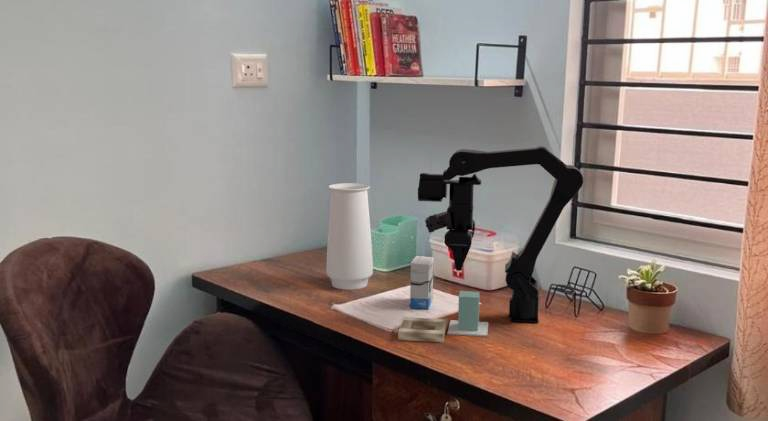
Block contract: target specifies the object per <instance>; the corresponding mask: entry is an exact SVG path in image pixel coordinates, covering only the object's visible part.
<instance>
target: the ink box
mask: <svg viewBox="0 0 768 421" xmlns="http://www.w3.org/2000/svg"><path fill="white" fill-rule="evenodd" d="M409 288H410V292H409V294H410V295H409V296H410V297H409V308H410V309H418V308H421V309H422V310H429V308H430V306H431V304H432V302H433V300H434V298H433V297H434V296H433V295H434V257H433V256H422V255H420V256H419V255H415V257H414V258H413V259H412V261H411V262H410V287H409Z"/></svg>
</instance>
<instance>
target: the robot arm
mask: <svg viewBox="0 0 768 421" xmlns="http://www.w3.org/2000/svg"><path fill="white" fill-rule="evenodd" d="M448 163H449V164H448V167H447V169H444V170H443V172H442V174H441V173H439V174H437V173H428V172H427V173H426V172H421V173H420V174H419V182H418V187H417V200H418V202H433V203H434V202H438V203H439V202H440V203H442V202H443V200H444V199H447V196H448V192H449V197H448V198H449V200H448V207H447V208H446V211H442V212H439V213H434V214H433V215H429V216H428V217H426V219H425V220H424V223H425V227H426V229H427V231H428V233H429V234H430V233H434V232H435V231H438V230H440V229H443V228H446V230H447V231H446V232H445V234H444V236H443V238H444V239H443V240H444V241H443V242H444V244H445V246H446V247H448V249H450V250H451V253H452V256H453V257H452V258H453V261H454V266H455V267H454V268H455V271H456V272H457V271H459V272H461V270H462V268H463V266H464V263H465V261H466V259H467V256H468V254H469V252H470V249H471V247H472V244H473V237H474V235H475V232H476V221H475V220H474V219H473V218H474V186H481V184H482V179H480V178H479V177H478V175H477V174H476V173H478V172H482V171H485V170H487V169H488V170H489V169H495V168H496V169H497V168H507V167H508V168H509V167H520V166H530V165H531V166H532V165H539V166H540V167H541V168H543V169H544V170H545V171H546V172H547V173H548V174H549V175H551V177H553V178H554V180H553V184H552V188H551V192H550V195H549V199H548V200H547V202H546V204H545V206H544V208H543V210H542V212H541V214H540V216H539V217H538V219H537V221H536V223H535V225H534V227H533V229H532V231H531V233H530V234H529V236H528V239H527V240H526V242H525V244H524V245H523V247H522V249H521V250H520V251H519V252H518V253H515V251H512V253H511V255H510V259H509V260H508V262H507V263H505V265H504V266H505V267H504V273H505V283H506V285H507V287H508V288H510V289H511V290H512V294H511V296H510V297H509V304H508V305H509V308H508V309H509V310H508V316H509V318H510V321H511V322H517V323H518V322H519V323H539V302H540V301H539V300H540V299H539V298H540V296H539V284H538V281H537V279H535V278H534V277H533V274H534V271H535V267H536V263H537V259H538V257H539V255H540V254H541V251H542V249H543V247H544V246H545V244H546V242H547V241H548V240H547V239H548V238H549V236H550V234H552V233H551V232H552V231H553V229H554V227H555V225H556V223H557V221H558V219H559V217H560V215H561V214H562V212H563V210H564V208H565V207H566V206H567V205H568V203H570V202H571V200H573V199H574V197H575V196H576V195H577V194H578V192H579V191H580V190H581V188H582V187H583V184H584V176H583V174H582V172H581V171H580V170H579V168H578V167H576V166H574V165H571V164H566V163H565V162H563V160H561V159H560V158H558V157H557V156H556V155H555V154H553V153H552V152H550V150H549V149H548V148H547V147H546V146H542V145H540V146H537V147H530V148H529V147H527V148H518V149H517V148H516V149H505V150H495V151H486V150H485V151H483V150H477V149H465V148H461V149H458V150H456V151H455V152H454V153H453V154H452V155H451V156H450V158H449V162H448ZM472 174H473V175H472ZM467 175H472V176H467ZM456 177H459V178H458V179H456V180H455V179H454V178H456ZM453 179H454V180H453ZM448 185H449V191H448Z"/></svg>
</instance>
